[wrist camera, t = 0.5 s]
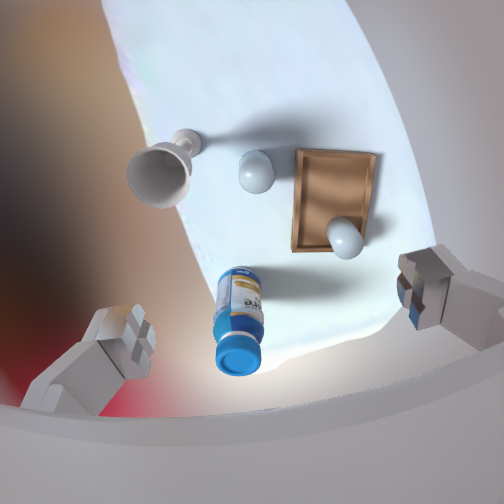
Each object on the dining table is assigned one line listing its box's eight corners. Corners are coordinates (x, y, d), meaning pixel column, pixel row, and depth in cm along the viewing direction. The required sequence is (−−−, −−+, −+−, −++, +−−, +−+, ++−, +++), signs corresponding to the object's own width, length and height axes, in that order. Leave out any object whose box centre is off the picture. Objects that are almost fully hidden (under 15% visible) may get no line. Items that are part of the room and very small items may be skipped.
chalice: (216, 141, 48) (203, 173, 32) (191, 173, 50) (167, 220, 35) (180, 114, 45) (147, 133, 30) (155, 147, 48) (115, 183, 32)
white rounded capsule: (327, 215, 54) (335, 231, 49) (355, 216, 54) (366, 231, 49) (324, 242, 56) (331, 259, 51) (350, 241, 57) (360, 259, 51)
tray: (296, 148, 49) (298, 151, 47) (371, 153, 49) (375, 155, 47) (290, 246, 58) (292, 252, 56) (357, 246, 58) (361, 251, 56)
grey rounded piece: (238, 150, 49) (238, 159, 43) (271, 150, 49) (275, 159, 44) (239, 181, 51) (238, 194, 46) (271, 181, 51) (274, 193, 46)
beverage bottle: (211, 271, 60) (200, 351, 43) (254, 260, 59) (258, 339, 42) (225, 304, 64) (221, 384, 47) (265, 294, 63) (273, 374, 46)
